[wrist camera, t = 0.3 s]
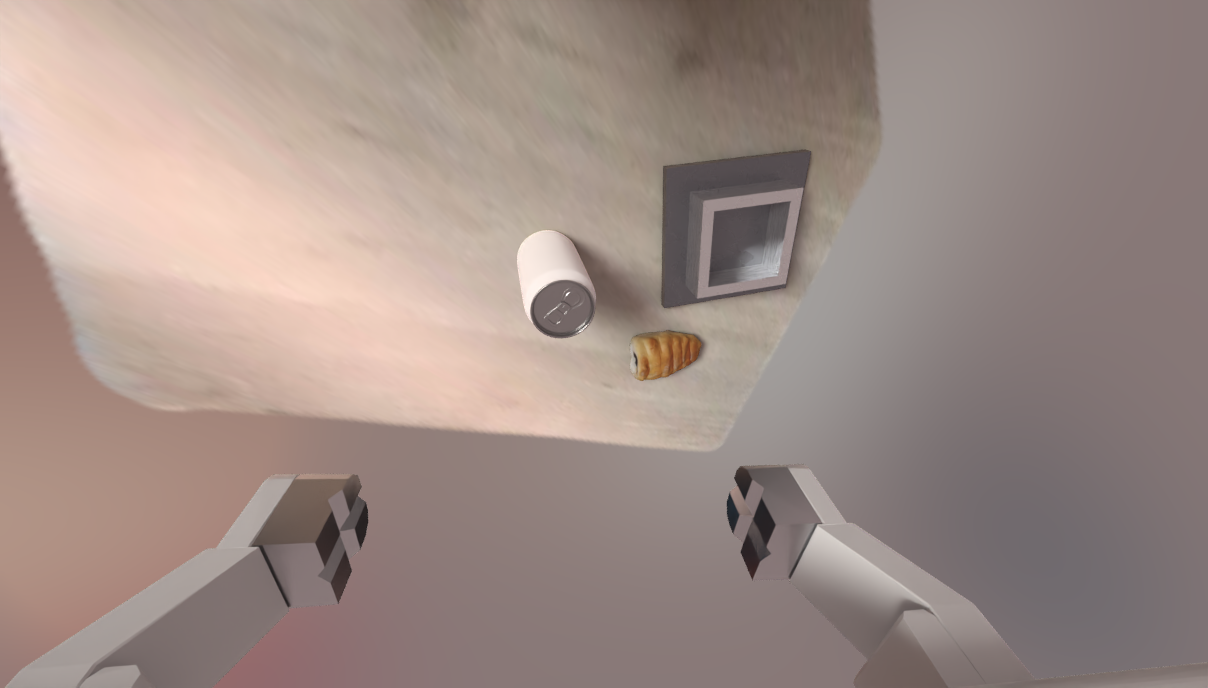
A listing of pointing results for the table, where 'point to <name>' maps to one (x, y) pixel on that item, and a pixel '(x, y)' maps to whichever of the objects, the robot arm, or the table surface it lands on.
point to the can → (555, 285)
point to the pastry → (662, 353)
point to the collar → (730, 225)
